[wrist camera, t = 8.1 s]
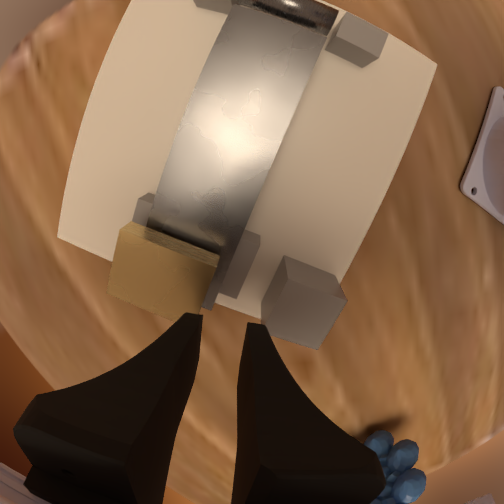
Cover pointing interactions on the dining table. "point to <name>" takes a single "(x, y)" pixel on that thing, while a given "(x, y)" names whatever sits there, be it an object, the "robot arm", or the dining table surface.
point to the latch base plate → (282, 169)
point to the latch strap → (237, 124)
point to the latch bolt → (160, 272)
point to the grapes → (397, 468)
